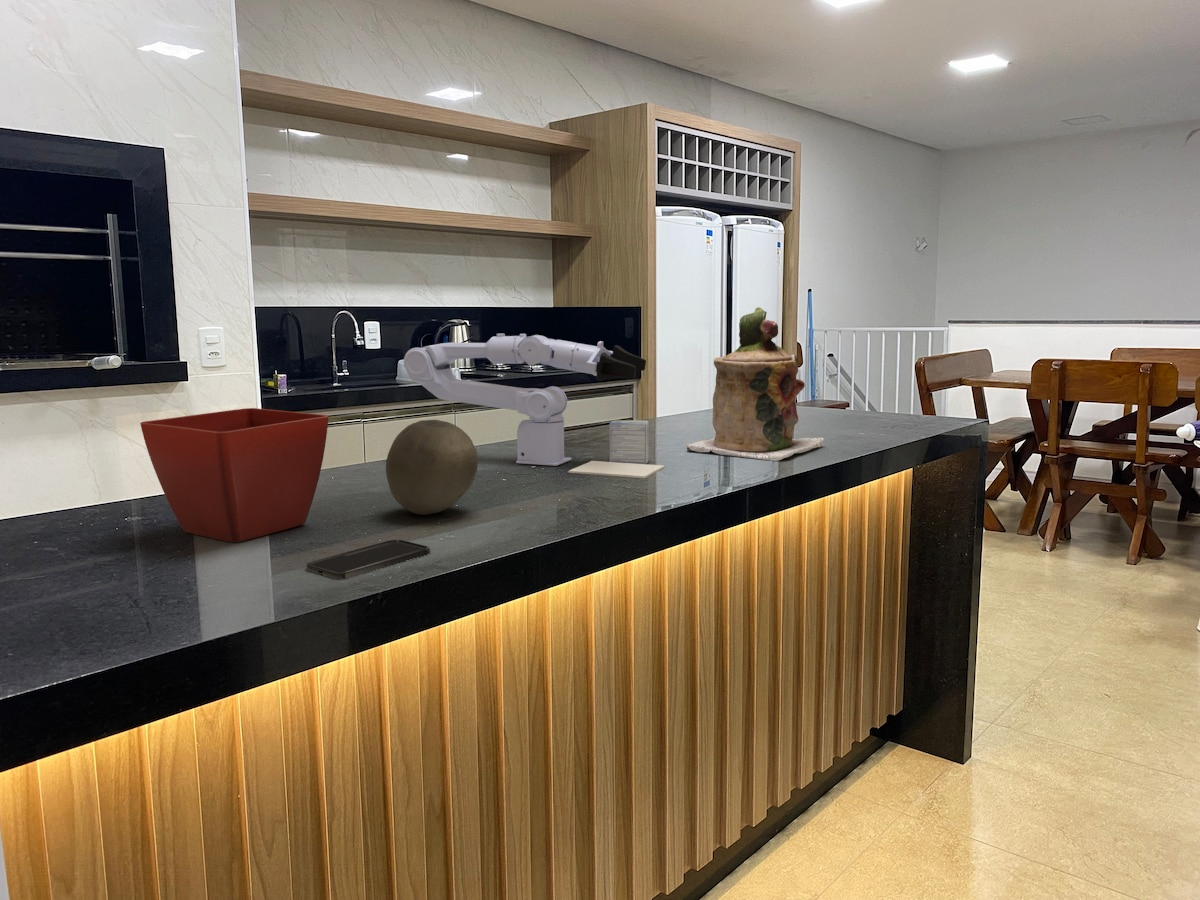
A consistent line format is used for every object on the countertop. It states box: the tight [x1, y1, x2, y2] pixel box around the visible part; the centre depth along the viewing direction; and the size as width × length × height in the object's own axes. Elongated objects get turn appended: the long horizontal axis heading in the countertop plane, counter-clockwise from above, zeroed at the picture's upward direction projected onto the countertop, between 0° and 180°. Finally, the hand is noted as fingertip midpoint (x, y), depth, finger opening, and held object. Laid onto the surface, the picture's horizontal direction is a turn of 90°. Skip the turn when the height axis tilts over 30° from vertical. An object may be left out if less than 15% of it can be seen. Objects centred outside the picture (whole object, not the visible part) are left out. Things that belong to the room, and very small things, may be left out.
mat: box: [567, 460, 666, 479], centre depth 180 cm, size 16×12×1 cm
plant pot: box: [140, 407, 329, 543], centre depth 134 cm, size 19×19×17 cm
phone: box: [306, 539, 431, 580], centre depth 118 cm, size 8×1×15 cm
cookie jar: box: [685, 306, 825, 462], centre depth 202 cm, size 25×25×32 cm
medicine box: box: [609, 419, 650, 464], centre depth 188 cm, size 8×4×9 cm, turn 82°
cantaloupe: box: [385, 419, 479, 516], centre depth 143 cm, size 14×14×15 cm
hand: (640, 368), depth 180 cm, fingers open, 7 cm apart
